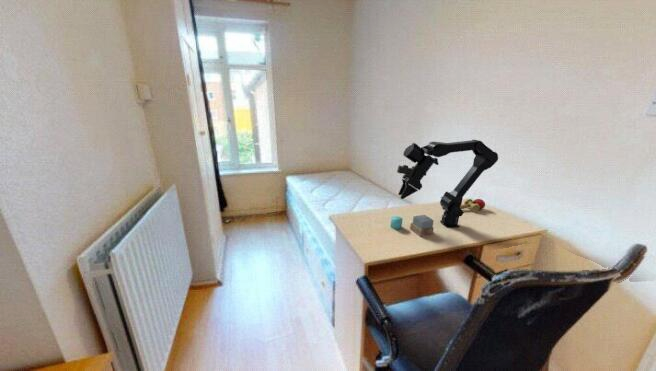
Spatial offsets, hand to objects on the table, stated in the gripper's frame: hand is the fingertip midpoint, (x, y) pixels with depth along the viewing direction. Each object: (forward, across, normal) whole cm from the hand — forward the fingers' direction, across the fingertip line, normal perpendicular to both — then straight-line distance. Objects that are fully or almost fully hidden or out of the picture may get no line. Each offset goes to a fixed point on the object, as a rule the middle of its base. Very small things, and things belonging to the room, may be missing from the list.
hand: (400, 196), depth 114 cm
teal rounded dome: (+13, -2, +7) cm, 15 cm away
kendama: (-11, -31, +40) cm, 52 cm away
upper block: (+5, 0, +16) cm, 16 cm away
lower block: (+8, 0, +17) cm, 19 cm away
